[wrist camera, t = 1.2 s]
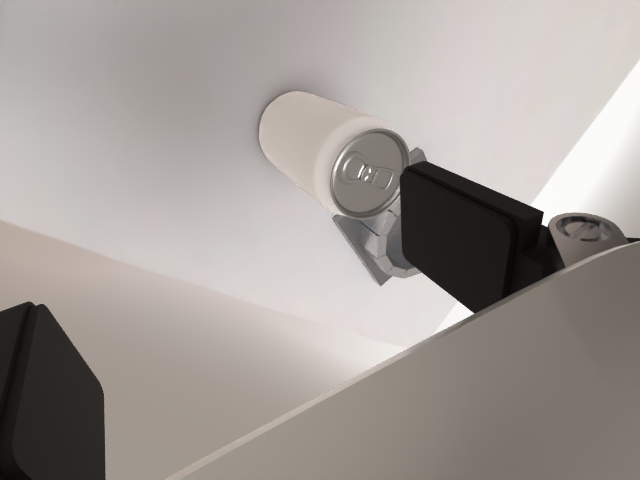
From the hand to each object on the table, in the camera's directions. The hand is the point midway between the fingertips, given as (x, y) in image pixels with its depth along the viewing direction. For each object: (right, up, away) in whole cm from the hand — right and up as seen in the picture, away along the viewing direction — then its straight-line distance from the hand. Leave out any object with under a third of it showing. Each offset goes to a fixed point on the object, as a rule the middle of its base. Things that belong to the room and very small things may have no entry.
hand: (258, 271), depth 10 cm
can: (-1, +10, +23) cm, 25 cm away
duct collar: (+10, +3, +32) cm, 34 cm away
